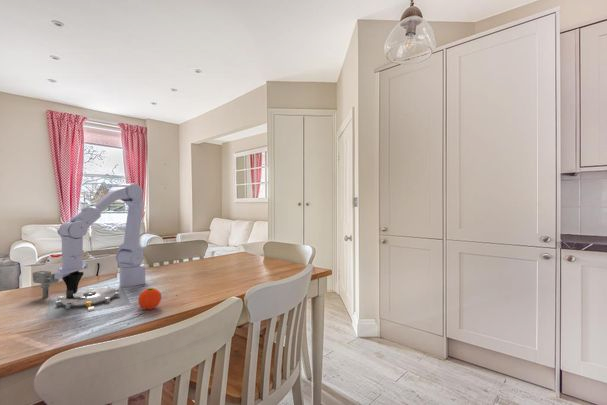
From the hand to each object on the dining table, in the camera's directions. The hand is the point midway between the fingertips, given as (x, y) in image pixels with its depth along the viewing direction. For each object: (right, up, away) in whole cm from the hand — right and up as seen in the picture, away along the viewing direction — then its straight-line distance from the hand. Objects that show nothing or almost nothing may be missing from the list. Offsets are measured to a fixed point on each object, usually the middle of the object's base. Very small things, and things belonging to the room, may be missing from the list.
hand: (72, 293), depth 99 cm
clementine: (+29, -4, -3) cm, 30 cm away
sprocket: (+5, -3, +2) cm, 6 cm away
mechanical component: (-13, -4, +4) cm, 14 cm away
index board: (+6, -4, +1) cm, 7 cm away
